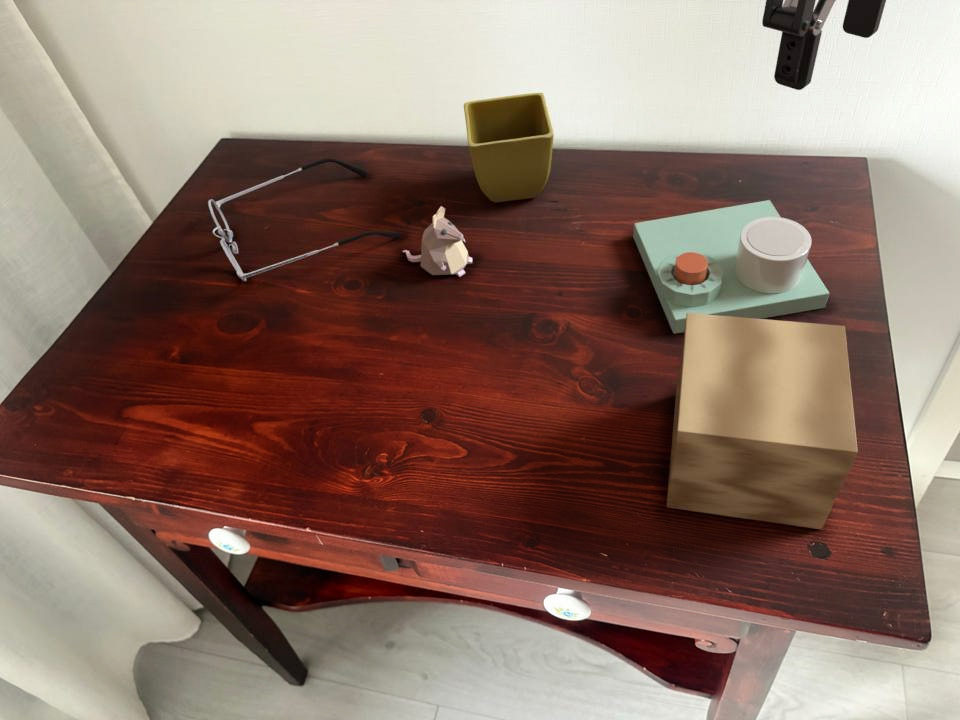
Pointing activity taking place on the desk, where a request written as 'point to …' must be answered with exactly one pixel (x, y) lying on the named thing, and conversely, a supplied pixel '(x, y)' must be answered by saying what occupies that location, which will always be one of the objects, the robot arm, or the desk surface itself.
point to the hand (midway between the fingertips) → (826, 58)
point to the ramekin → (772, 254)
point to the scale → (716, 267)
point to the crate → (762, 420)
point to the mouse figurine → (442, 248)
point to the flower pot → (510, 145)
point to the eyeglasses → (244, 276)
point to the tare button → (690, 268)
